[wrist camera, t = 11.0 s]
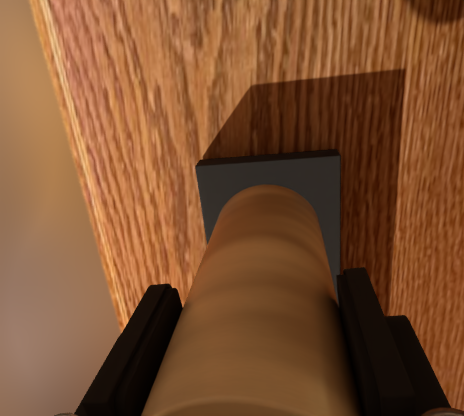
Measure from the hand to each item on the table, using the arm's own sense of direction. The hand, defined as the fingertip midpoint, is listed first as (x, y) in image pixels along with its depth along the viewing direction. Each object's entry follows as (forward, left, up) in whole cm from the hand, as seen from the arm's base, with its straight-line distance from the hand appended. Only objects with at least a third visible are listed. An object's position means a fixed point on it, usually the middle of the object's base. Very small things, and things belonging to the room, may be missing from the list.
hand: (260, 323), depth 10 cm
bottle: (0, 0, -7) cm, 7 cm away
